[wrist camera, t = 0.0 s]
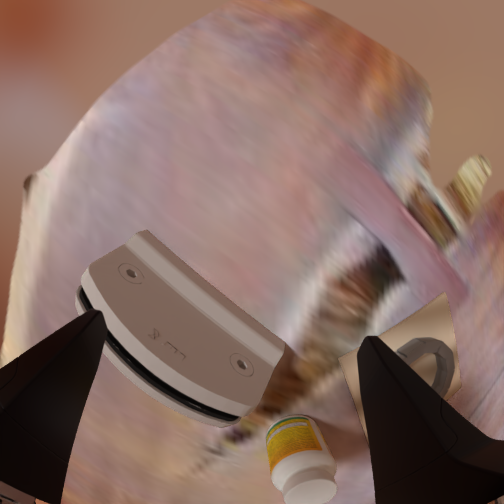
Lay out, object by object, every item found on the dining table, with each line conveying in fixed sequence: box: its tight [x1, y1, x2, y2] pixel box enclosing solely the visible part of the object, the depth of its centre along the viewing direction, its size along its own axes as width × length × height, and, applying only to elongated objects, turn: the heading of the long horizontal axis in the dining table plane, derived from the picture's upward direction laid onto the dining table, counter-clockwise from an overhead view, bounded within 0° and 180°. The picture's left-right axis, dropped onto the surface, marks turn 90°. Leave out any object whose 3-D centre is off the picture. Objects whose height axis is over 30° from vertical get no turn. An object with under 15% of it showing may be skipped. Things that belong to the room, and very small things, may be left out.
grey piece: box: [75, 230, 285, 428], centre depth 19 cm, size 17×5×10 cm, turn 51°
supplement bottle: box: [266, 415, 337, 504], centre depth 18 cm, size 5×5×10 cm
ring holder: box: [338, 292, 461, 449], centre depth 22 cm, size 14×14×2 cm
